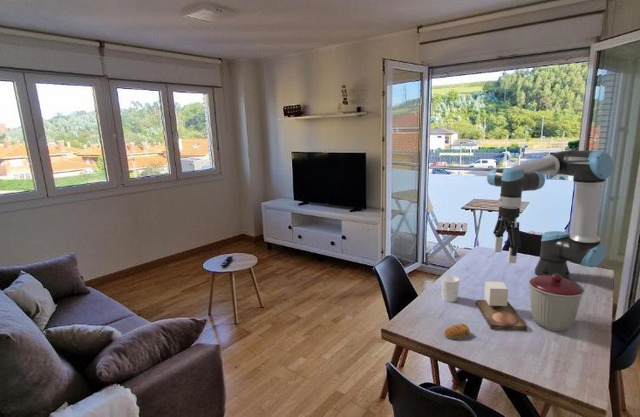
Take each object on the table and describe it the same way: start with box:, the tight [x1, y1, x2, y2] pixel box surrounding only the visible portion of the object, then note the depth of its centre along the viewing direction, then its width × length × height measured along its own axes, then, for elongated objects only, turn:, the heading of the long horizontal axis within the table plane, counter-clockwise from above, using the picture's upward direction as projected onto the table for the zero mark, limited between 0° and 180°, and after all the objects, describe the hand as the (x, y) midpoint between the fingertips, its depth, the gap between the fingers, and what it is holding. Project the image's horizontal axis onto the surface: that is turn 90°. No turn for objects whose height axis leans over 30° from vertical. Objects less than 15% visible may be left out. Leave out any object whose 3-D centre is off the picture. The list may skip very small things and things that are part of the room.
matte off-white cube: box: [483, 281, 509, 306], centre depth 152 cm, size 7×7×8 cm
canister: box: [528, 274, 586, 332], centre depth 139 cm, size 18×18×21 cm
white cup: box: [440, 274, 460, 303], centre depth 164 cm, size 8×8×10 cm
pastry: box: [444, 322, 472, 340], centre depth 136 cm, size 9×7×4 cm
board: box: [475, 299, 528, 332], centre depth 147 cm, size 13×21×10 cm, turn 172°
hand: (504, 257), depth 148 cm, fingers open, 13 cm apart
